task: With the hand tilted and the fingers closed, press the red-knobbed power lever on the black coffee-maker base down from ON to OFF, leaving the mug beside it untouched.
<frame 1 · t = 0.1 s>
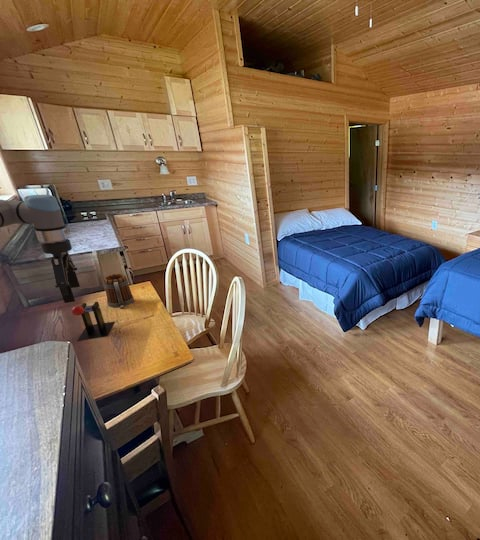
hand: (72, 294, 113), 23 cm above the table, tool pointing down, fingers open, 13 cm apart
mug: (122, 306, 149), on the table
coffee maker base: (97, 333, 128), on the table
lever: (84, 309, 118), point 14 cm above the table, hinge at 25.0°
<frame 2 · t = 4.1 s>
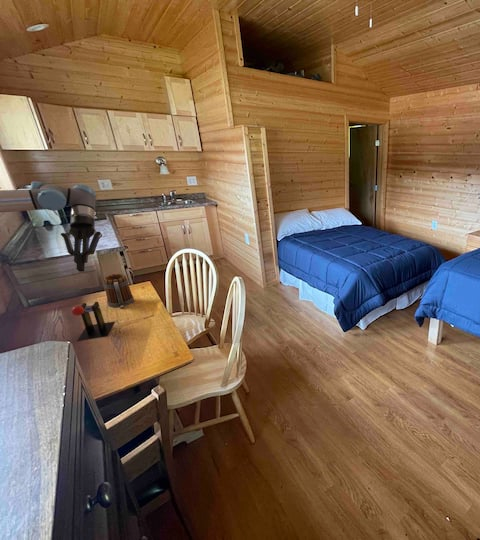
hand: (80, 270, 119), 29 cm above the table, tool tilted 45°, fingers closed
nothing on the table moved.
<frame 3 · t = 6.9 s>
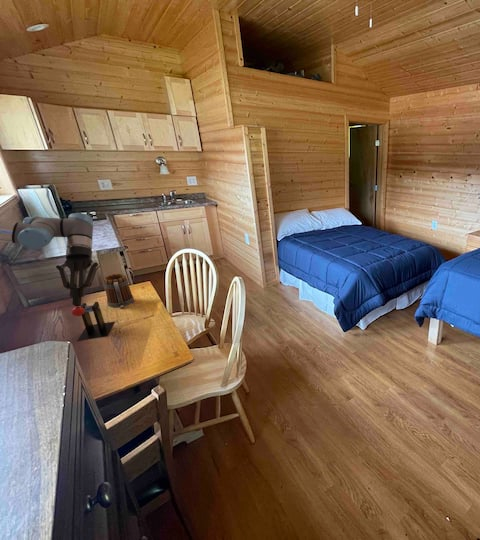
hand: (76, 305, 113), 19 cm above the table, tool tilted 45°, fingers closed
lever: (84, 310, 118), point 14 cm above the table, hinge at 23.2°
everything else where it was.
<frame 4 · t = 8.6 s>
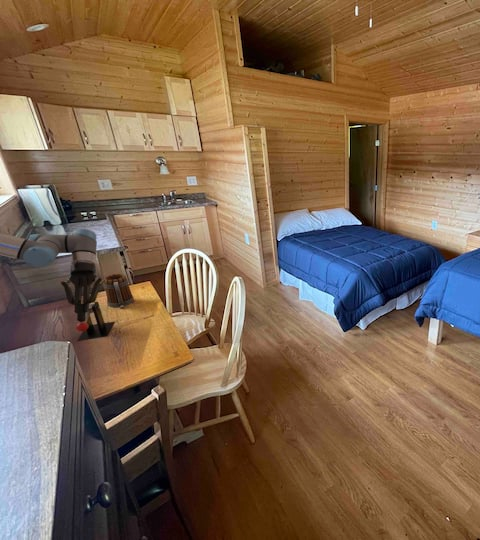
hand: (81, 320, 115), 12 cm above the table, tool tilted 45°, fingers closed
lever: (86, 317, 119), point 11 cm above the table, hinge at -11.2°, touching gripper
everything else where it was.
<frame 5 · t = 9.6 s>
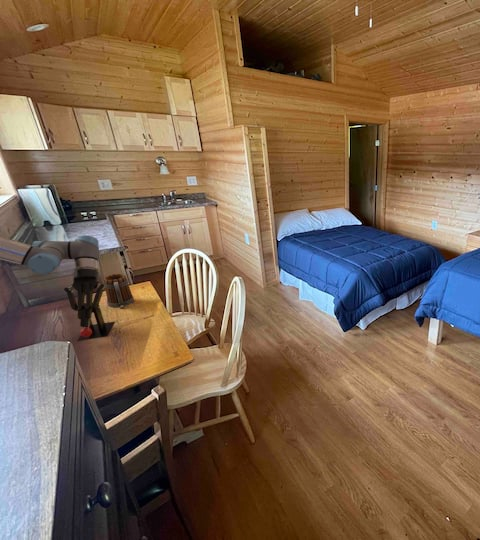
hand: (84, 326, 117), 9 cm above the table, tool tilted 45°, fingers closed
lever: (88, 320, 120), point 9 cm above the table, hinge at -30.6°, touching gripper
everything else where it was.
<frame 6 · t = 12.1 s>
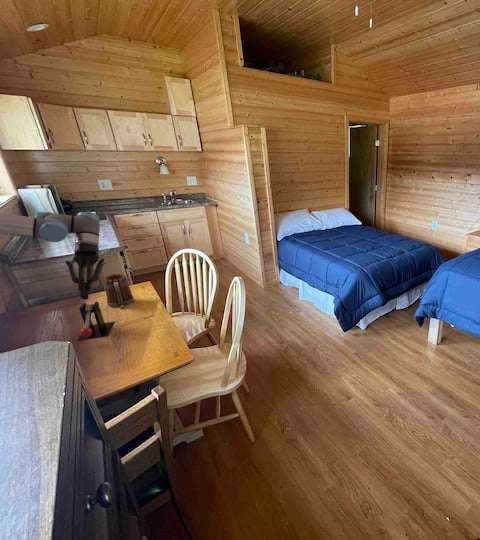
hand: (84, 298, 120), 18 cm above the table, tool tilted 45°, fingers closed
lever: (87, 320, 120), point 9 cm above the table, hinge at -30.4°
everything else where it was.
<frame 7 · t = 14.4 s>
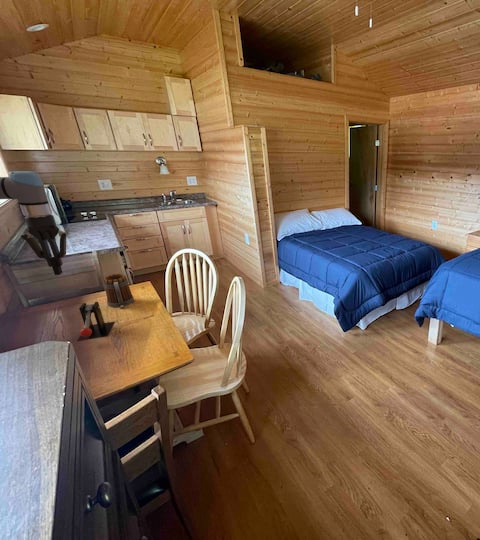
hand: (58, 273, 119), 26 cm above the table, tool pointing down, fingers closed
nothing on the table moved.
at the end: lever at -30° (first picture: +25°); mug moved 0.2 cm from its start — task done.
